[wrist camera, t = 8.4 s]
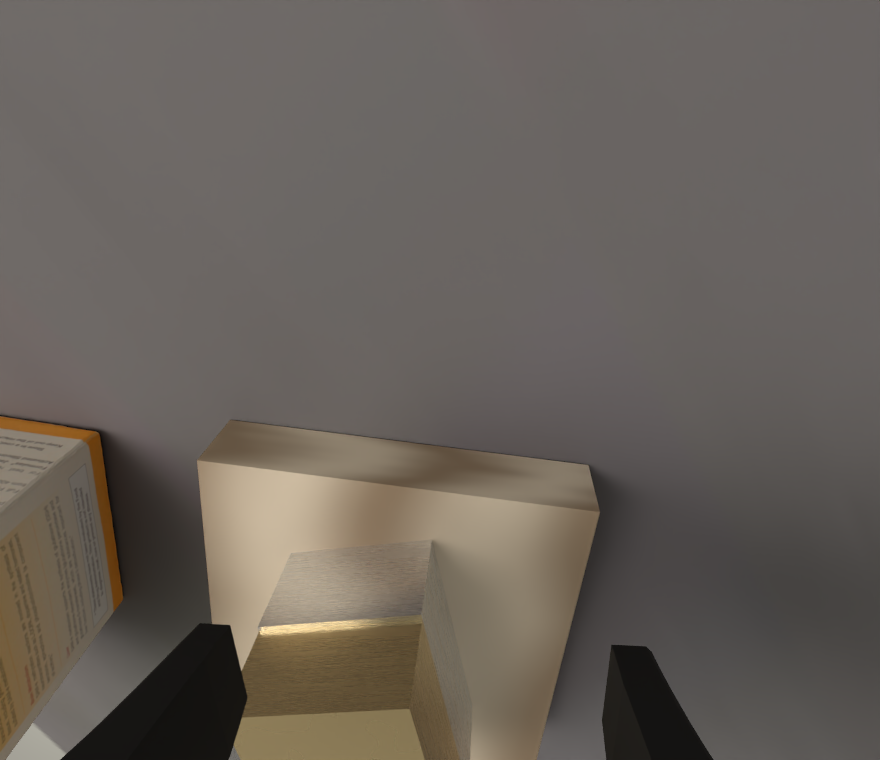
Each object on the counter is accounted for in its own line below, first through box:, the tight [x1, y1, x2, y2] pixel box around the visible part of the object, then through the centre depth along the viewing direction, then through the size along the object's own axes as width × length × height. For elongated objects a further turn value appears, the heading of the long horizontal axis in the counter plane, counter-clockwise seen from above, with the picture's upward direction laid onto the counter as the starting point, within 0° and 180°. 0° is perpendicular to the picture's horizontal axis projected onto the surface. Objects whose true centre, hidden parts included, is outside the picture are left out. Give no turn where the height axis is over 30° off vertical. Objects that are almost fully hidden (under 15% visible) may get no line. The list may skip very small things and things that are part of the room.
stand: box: [197, 420, 600, 760], centre depth 22 cm, size 12×12×2 cm
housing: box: [234, 540, 472, 760], centre depth 18 cm, size 8×5×6 cm, turn 11°
